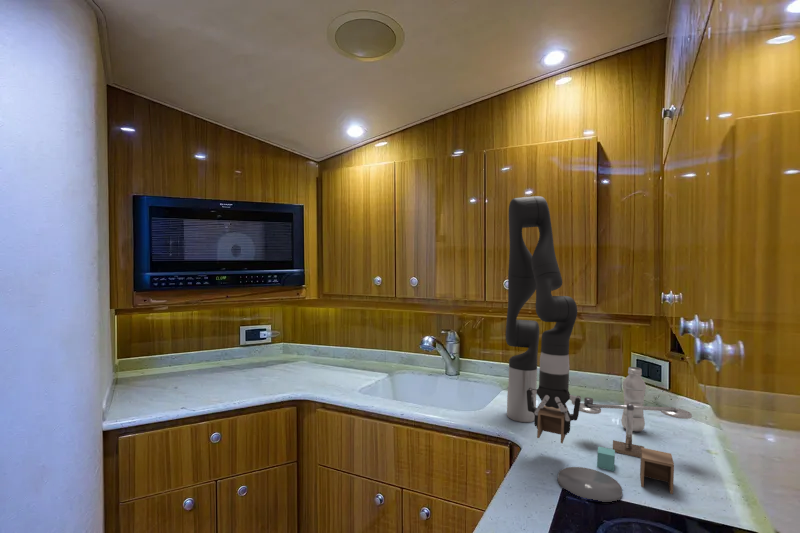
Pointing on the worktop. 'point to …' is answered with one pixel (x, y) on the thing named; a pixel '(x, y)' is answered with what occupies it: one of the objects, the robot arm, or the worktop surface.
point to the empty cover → (657, 466)
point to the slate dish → (590, 484)
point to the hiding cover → (551, 421)
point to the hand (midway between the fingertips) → (551, 430)
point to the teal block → (606, 458)
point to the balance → (630, 422)
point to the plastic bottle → (634, 397)
